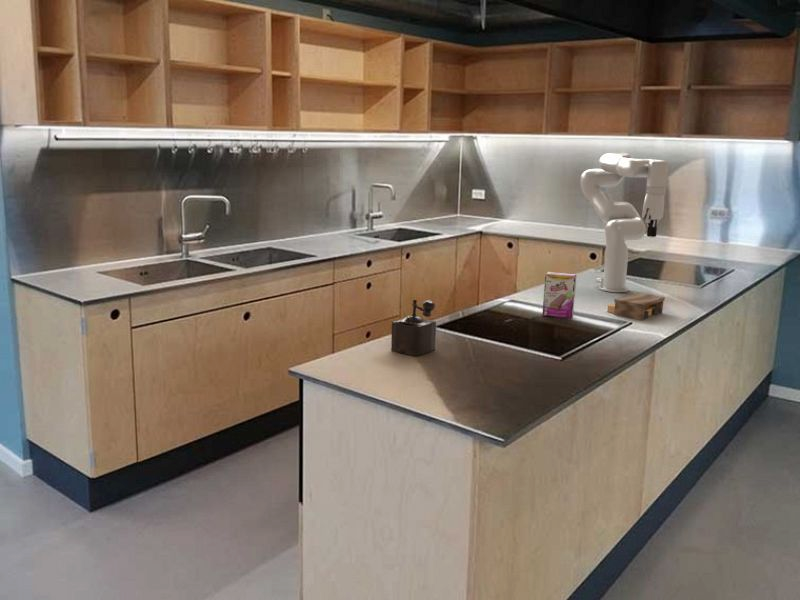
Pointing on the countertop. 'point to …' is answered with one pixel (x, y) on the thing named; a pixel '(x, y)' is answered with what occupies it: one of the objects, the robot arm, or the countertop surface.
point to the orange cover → (648, 308)
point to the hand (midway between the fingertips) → (651, 236)
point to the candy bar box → (559, 295)
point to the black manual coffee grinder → (414, 332)
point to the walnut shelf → (638, 305)
